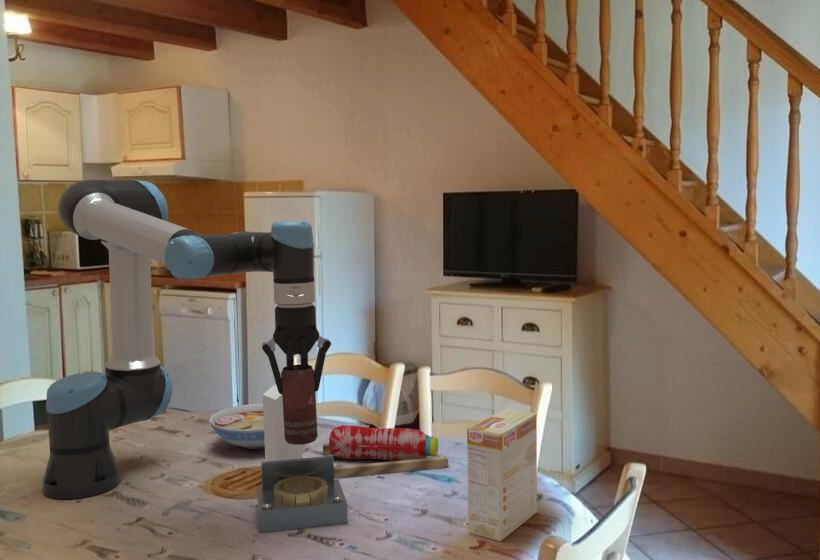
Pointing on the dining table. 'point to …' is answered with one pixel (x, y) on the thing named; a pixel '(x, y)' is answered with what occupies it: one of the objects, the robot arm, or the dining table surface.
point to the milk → (276, 429)
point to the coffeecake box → (502, 473)
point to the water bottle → (381, 443)
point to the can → (299, 405)
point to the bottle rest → (387, 466)
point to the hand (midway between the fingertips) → (299, 428)
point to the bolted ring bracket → (300, 495)
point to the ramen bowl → (241, 425)
